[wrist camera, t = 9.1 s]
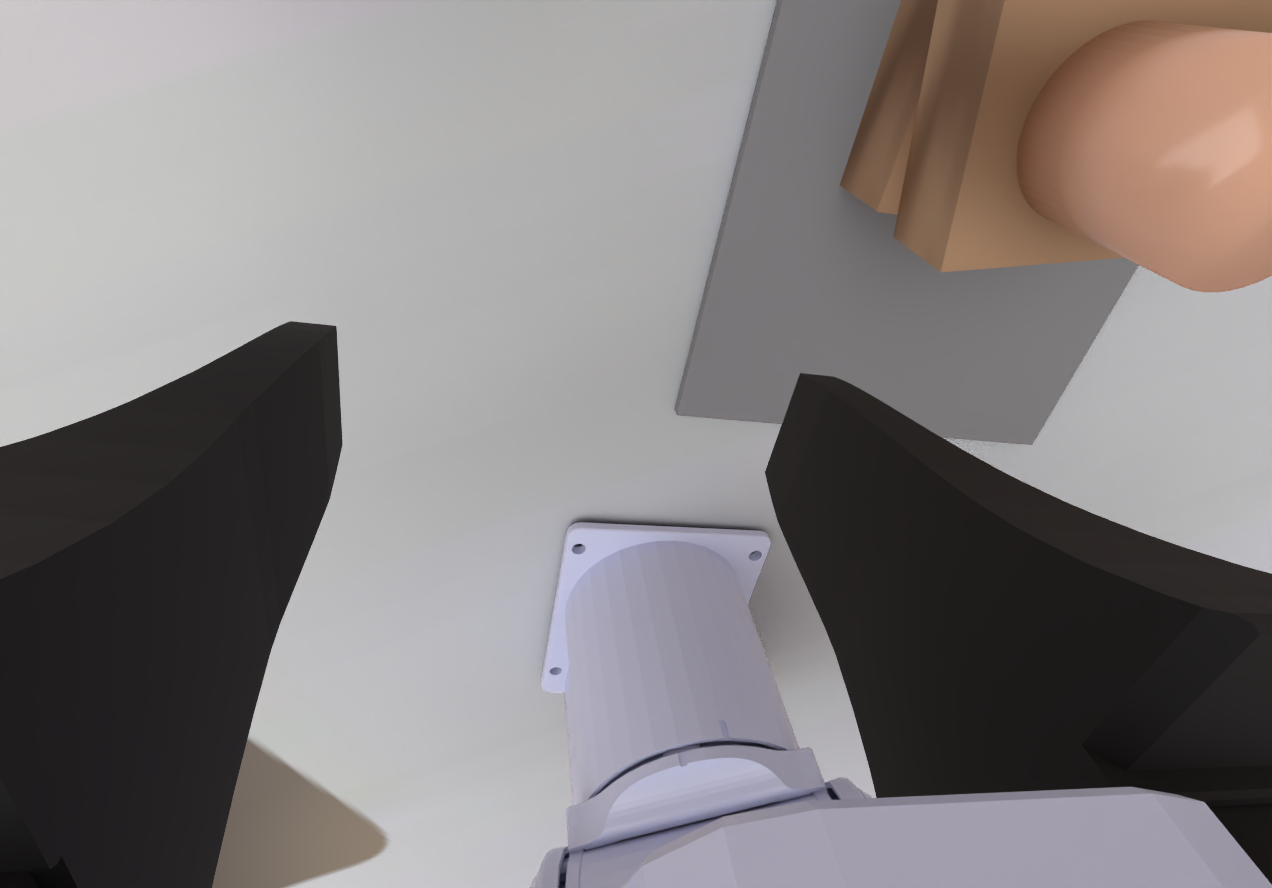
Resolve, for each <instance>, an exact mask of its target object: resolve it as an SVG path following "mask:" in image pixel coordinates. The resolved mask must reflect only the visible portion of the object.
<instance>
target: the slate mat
mask: <svg viewBox="0 0 1272 888" xmlns="http://www.w3.org/2000/svg"><path fill="white" fill-rule="evenodd" d="M900 2H901V0H777V4H776V8H775V12H774V16H773V20H772V24H771V28H770V32H769V36H768V40H767V44H766V48H765V52H764V56H763V60H762V64H761V68H760V72H759V76H758V80H757V84H756V88H755V92H754V96H753V100H752V104H751V108H750V112H749V116H748V120H747V124H746V128H745V132H744V136H743V140H742V144H741V148H740V152H739V156H738V160H737V164H736V168H735V172H734V176H733V180H732V184H731V188H730V192H729V196H728V199H727V203H726V207H725V211H724V215H723V219H722V223H721V227H720V231H719V235H718V239H717V243H716V247H715V251H714V255H713V259H712V263H711V267H710V271H709V275H708V279H707V283H706V287H705V291H704V295H703V299H702V303H701V307H700V311H699V315H698V319H697V323H696V327H695V331H694V335H693V339H692V343H691V347H690V351H689V355H688V359H687V363H686V367H685V371H684V375H683V379H682V383H681V387H680V391H679V395H678V399H677V403H676V407H675V411H676V413H677V415H681V416H693V417H705V418H717V419H729V420H741V421H753V422H765V423H777V424H782V423H783V420H784V417H785V414H786V411H787V409H788V406H789V403H790V400H791V397H792V394H793V392H794V389H795V386H796V383H797V380H798V377H799V375H800V373H804V374H814V375H824V376H834V377H836V378H839V379H841V380H844V381H846V382H848V383H850V384H852V385H854V386H856V387H858V388H860V389H861V390H863V391H865V392H867V393H868V394H870V395H872V396H874V397H875V398H877V399H879V400H880V401H882V402H884V403H885V404H887V405H889V406H890V407H892V408H894V409H895V410H897V411H899V412H900V413H902V414H904V415H905V416H907V417H908V418H910V419H912V420H913V421H915V422H917V423H918V424H920V425H922V426H923V427H925V428H926V429H928V430H930V431H931V432H933V433H935V434H936V435H938V436H940V437H945V438H957V439H969V440H980V441H992V442H1004V443H1016V444H1028V445H1032V444H1033V442H1034V441H1035V439H1036V437H1037V436H1038V434H1039V432H1040V430H1041V429H1042V427H1043V425H1044V424H1045V422H1046V420H1047V419H1048V417H1049V415H1050V414H1051V412H1052V410H1053V409H1054V407H1055V405H1056V404H1057V402H1058V400H1059V398H1060V397H1061V395H1062V393H1063V392H1064V390H1065V388H1066V387H1067V385H1068V383H1069V382H1070V380H1071V378H1072V377H1073V375H1074V373H1075V372H1076V370H1077V368H1078V366H1079V365H1080V363H1081V361H1082V360H1083V358H1084V356H1085V355H1086V353H1087V351H1088V350H1089V348H1090V346H1091V345H1092V343H1093V341H1094V340H1095V338H1096V336H1097V334H1098V333H1099V331H1100V329H1101V328H1102V326H1103V324H1104V323H1105V321H1106V319H1107V318H1108V316H1109V314H1110V313H1111V311H1112V309H1113V307H1114V306H1115V304H1116V302H1117V301H1118V299H1119V297H1120V296H1121V294H1122V292H1123V291H1124V289H1125V287H1126V286H1127V284H1128V282H1129V281H1130V279H1131V277H1132V275H1133V274H1134V272H1135V270H1136V269H1137V267H1138V264H1136V263H1134V262H1132V261H1130V260H1128V259H1126V258H1113V259H1101V260H1088V261H1076V262H1063V263H1051V264H1038V265H1026V266H1013V267H1001V268H989V269H976V270H964V271H951V272H940V271H938V270H937V269H935V268H934V267H933V266H931V265H930V264H929V263H927V262H926V261H925V260H923V259H922V258H921V257H919V256H918V255H917V254H915V253H914V252H913V251H911V250H910V249H909V248H907V247H906V246H905V245H903V244H902V243H901V242H899V241H898V240H897V239H895V238H894V237H893V236H894V230H895V225H896V220H897V215H895V214H889V213H882V212H877V211H875V210H874V209H872V208H871V207H870V206H868V205H867V204H865V203H864V202H863V201H861V200H860V199H858V198H857V197H856V196H854V195H853V194H851V193H850V192H849V191H847V190H846V189H844V188H843V187H842V186H840V183H841V180H842V177H843V174H844V171H845V168H846V165H847V162H848V159H849V156H850V153H851V150H852V147H853V144H854V141H855V138H856V135H857V132H858V129H859V126H860V123H861V120H862V117H863V114H864V111H865V108H866V104H867V101H868V98H869V95H870V92H871V89H872V86H873V83H874V80H875V77H876V74H877V71H878V68H879V65H880V62H881V59H882V56H883V53H884V50H885V47H886V44H887V41H888V38H889V35H890V32H891V29H892V26H893V23H894V20H895V17H896V14H897V11H898V8H899V5H900ZM1271 33H1272V31H1271Z"/></svg>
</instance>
